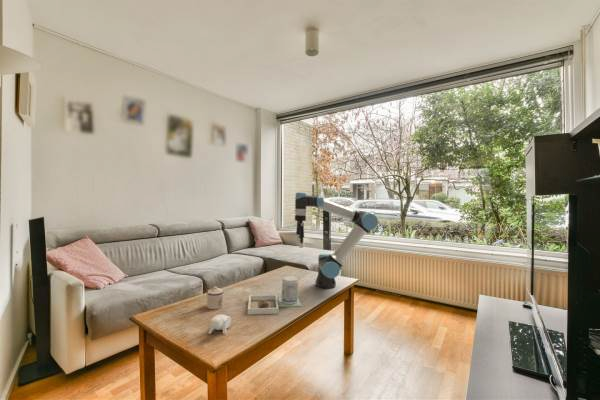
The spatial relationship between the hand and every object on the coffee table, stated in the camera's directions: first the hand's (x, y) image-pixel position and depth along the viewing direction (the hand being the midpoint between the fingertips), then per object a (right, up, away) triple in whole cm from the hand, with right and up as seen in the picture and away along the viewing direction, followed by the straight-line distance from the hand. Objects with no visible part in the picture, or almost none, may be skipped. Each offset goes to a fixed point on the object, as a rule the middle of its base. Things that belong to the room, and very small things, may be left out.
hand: (299, 245), depth 188 cm
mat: (-6, -32, -19) cm, 38 cm away
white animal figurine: (-39, -32, -57) cm, 76 cm away
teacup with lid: (-50, -31, -27) cm, 64 cm away
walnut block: (-21, -32, -32) cm, 50 cm away
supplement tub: (-6, -31, -19) cm, 38 cm away
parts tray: (-22, -32, -26) cm, 46 cm away
